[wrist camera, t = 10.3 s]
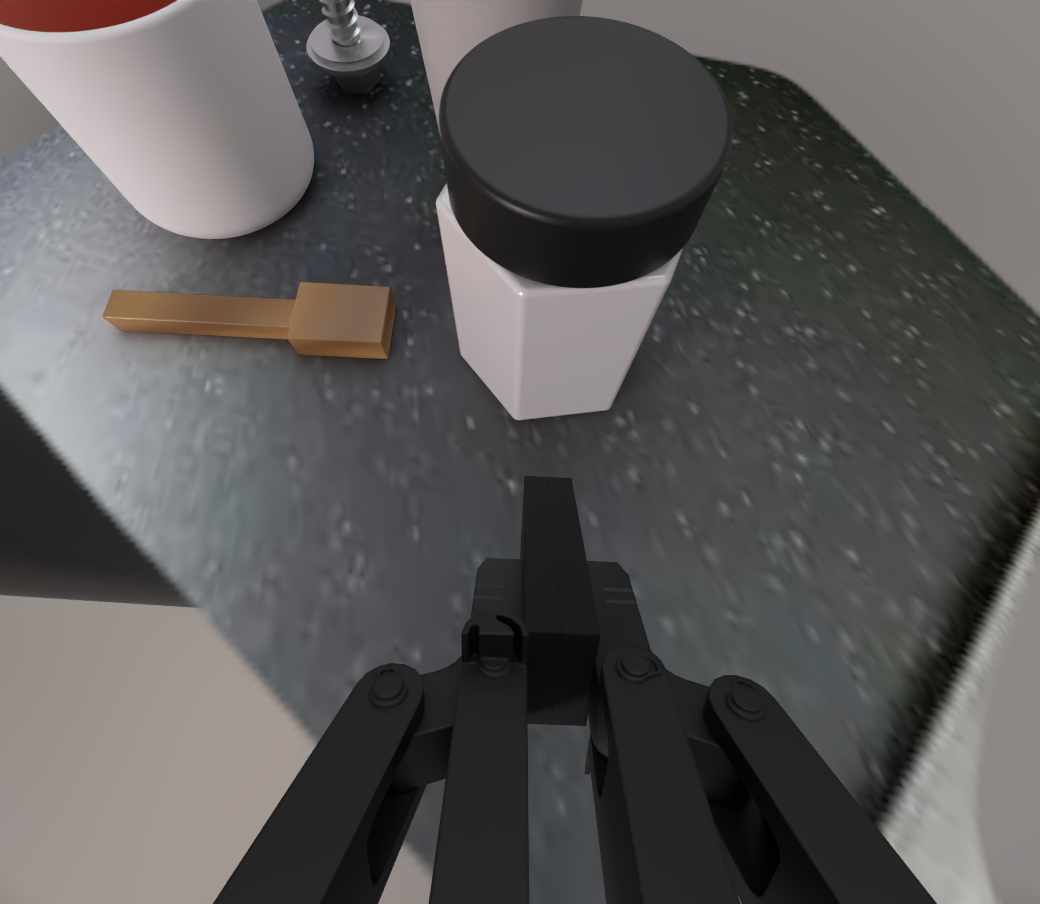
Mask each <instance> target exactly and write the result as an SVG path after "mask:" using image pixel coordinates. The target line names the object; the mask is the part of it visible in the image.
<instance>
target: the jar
mask: <svg viewBox="0 0 1040 904" xmlns="http://www.w3.org/2000/svg"><path fill="white" fill-rule="evenodd" d="M439 126H440V134H441V142H442V149H443V157H444V164H445V172H446V180H447V183H446V185H445V187H444V188H443V190H442V191H441V193H440V194H439V196H438V198H437V200H436V209H437V215H438V221H439V227H440V233H441V239H442V245H443V251H444V257H445V263H446V269H447V275H448V282H449V288H450V294H451V300H452V306H453V312H454V318H455V324H456V330H457V336H458V342H459V348H460V354H461V356H462V357H463V358H464V359H465V360H466V362H467V363H468V364H469V365H470V366H471V368H472V369H473V370H474V371H475V372H476V374H477V375H478V376H479V377H480V378H481V380H482V381H483V382H484V383H485V384H486V386H487V387H488V388H489V389H490V390H491V392H492V393H493V394H494V395H495V397H496V398H497V399H498V400H499V401H500V403H501V404H502V405H503V406H504V407H505V409H506V410H507V411H508V412H509V413H510V415H511V416H512V417H513V418H514V419H515V420H526V419H535V418H544V417H553V416H561V415H570V414H579V413H588V412H596V411H605V410H608V409H610V408H611V406H612V404H613V402H614V400H615V398H616V396H617V393H618V391H619V389H620V387H621V385H622V383H623V381H624V379H625V377H626V375H627V372H628V370H629V368H630V366H631V364H632V362H633V360H634V358H635V356H636V354H637V351H638V349H639V347H640V345H641V343H642V341H643V339H644V337H645V335H646V333H647V330H648V328H649V326H650V324H651V322H652V320H653V318H654V316H655V314H656V311H657V309H658V307H659V305H660V303H661V301H662V299H663V297H664V295H665V293H666V290H667V288H668V286H669V284H670V282H671V280H672V277H673V274H674V271H675V269H676V266H677V263H678V261H679V258H680V255H681V253H682V250H683V247H684V246H685V244H686V243H687V242H688V240H689V239H690V237H691V235H692V234H693V232H694V230H695V228H696V226H697V224H698V221H699V219H700V217H701V215H702V213H703V211H704V209H705V207H706V205H707V202H708V200H709V198H710V196H711V194H712V192H713V190H714V188H715V186H716V183H717V181H718V179H719V177H720V175H721V173H722V171H723V169H724V166H725V164H726V162H727V159H728V156H729V153H730V148H731V144H732V135H733V128H732V119H731V113H730V109H729V106H728V103H727V100H726V97H725V95H724V93H723V91H722V89H721V88H720V86H719V84H718V83H717V81H716V80H715V78H714V77H713V76H712V75H711V73H710V72H709V71H708V70H707V69H706V68H705V67H704V66H703V64H702V63H700V62H699V61H698V60H697V59H696V58H695V57H694V56H692V55H691V54H690V53H688V52H687V51H686V50H684V49H683V48H682V47H680V46H678V45H677V44H675V43H674V42H672V41H670V40H669V39H666V38H665V37H663V36H661V35H659V34H656V33H654V32H652V31H650V30H647V29H644V28H641V27H639V26H635V25H632V24H629V23H625V22H621V21H617V20H611V19H605V18H597V17H585V16H561V17H550V18H544V19H538V20H533V21H529V22H525V23H522V24H518V25H515V26H513V27H510V28H507V29H505V30H502V31H500V32H498V33H496V34H494V35H492V36H490V37H489V38H487V39H485V40H484V41H482V42H481V43H479V44H478V45H476V46H475V47H474V48H473V49H471V50H470V51H469V52H468V53H467V54H466V55H465V56H464V57H463V58H462V59H461V60H460V61H459V62H458V64H457V65H456V67H455V68H454V69H453V71H452V72H451V74H450V76H449V78H448V80H447V82H446V84H445V86H444V89H443V92H442V96H441V100H440V107H439Z"/></svg>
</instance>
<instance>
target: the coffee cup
mask: <svg viewBox="0 0 1040 904" xmlns="http://www.w3.org/2000/svg"><path fill="white" fill-rule="evenodd" d="M410 1H411V5H412V10H413V14H414V19H415V23H416V28H417V32H418V37H419V41H420V46H421V50H422V55H423V60H424V64H425V69H426V73H427V78H428V82H429V87H430V91H431V96H432V100H433V105H434V109H435V114H436V118H437V123H438V127H439V132H440V126H439V107H440V100H441V96H442V92H443V89H444V86H445V84H446V82H447V80H448V78H449V76H450V74H451V72H452V71H453V69H454V68H455V67H456V65H457V64H458V62H459V61H460V60H461V59H462V58H463V57H464V56H465V55H466V54H467V53H468V52H469V51H470V50H471V49H473V48H474V47H475V46H476V45H478V44H479V43H481V42H482V41H484V40H485V39H487V38H489V37H490V36H492V35H494V34H496V33H498V32H500V31H502V30H505V29H507V28H510V27H513V26H515V25H518V24H522V23H525V22H529V21H533V20H538V19H544V18H550V17H561V16H580V10H581V5H582V0H410ZM440 137H441V134H440Z"/></svg>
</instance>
